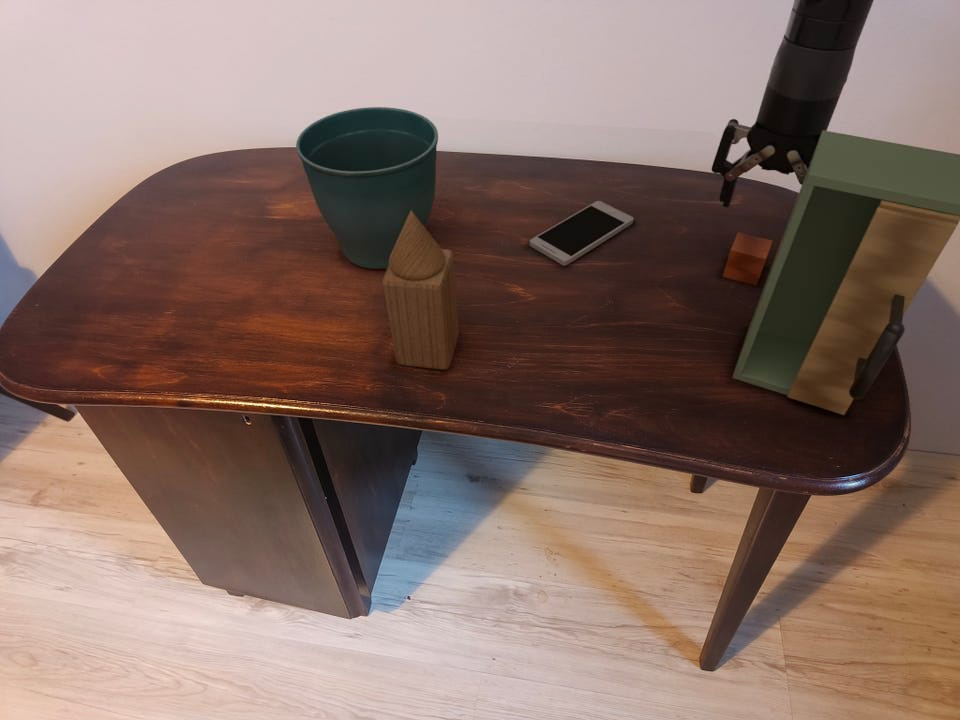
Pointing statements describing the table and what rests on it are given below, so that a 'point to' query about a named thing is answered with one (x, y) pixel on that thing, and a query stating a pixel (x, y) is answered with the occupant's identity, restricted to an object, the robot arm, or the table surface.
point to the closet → (836, 241)
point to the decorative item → (421, 299)
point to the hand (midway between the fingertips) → (761, 212)
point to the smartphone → (581, 232)
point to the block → (747, 258)
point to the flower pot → (370, 176)
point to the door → (869, 308)
